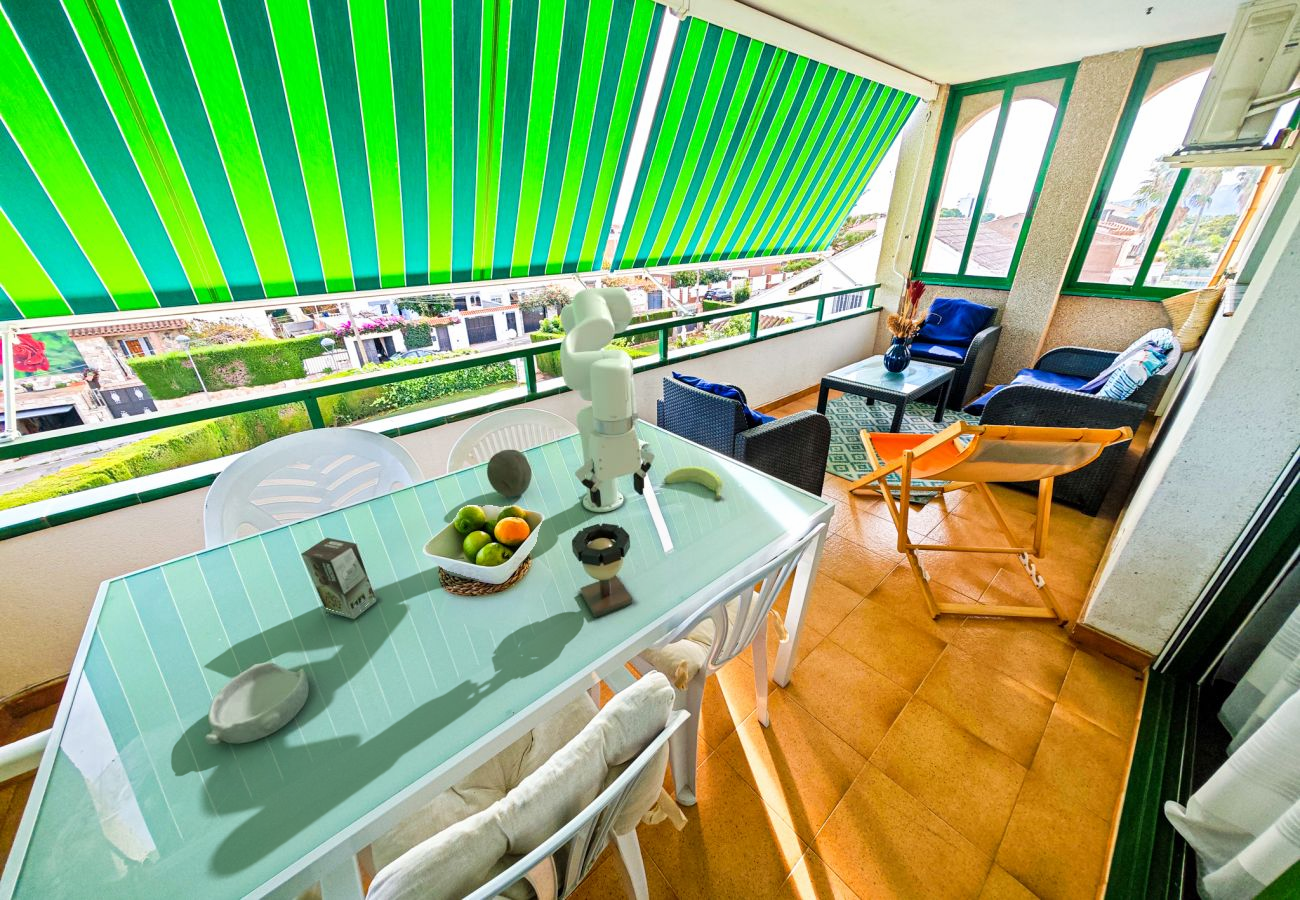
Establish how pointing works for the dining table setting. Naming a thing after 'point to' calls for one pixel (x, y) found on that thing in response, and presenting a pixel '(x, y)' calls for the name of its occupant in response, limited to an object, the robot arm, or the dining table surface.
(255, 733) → the dish
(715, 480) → the banana
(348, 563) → the coffee box
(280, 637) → the dining table surface
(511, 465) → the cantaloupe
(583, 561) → the ring
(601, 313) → the robot arm
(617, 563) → the ball stand
